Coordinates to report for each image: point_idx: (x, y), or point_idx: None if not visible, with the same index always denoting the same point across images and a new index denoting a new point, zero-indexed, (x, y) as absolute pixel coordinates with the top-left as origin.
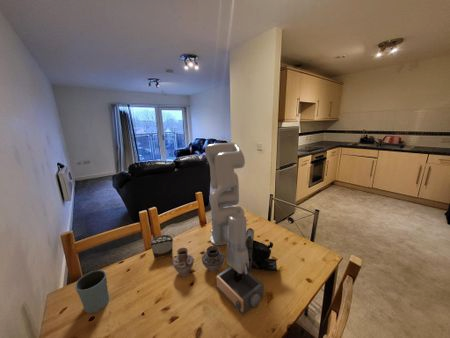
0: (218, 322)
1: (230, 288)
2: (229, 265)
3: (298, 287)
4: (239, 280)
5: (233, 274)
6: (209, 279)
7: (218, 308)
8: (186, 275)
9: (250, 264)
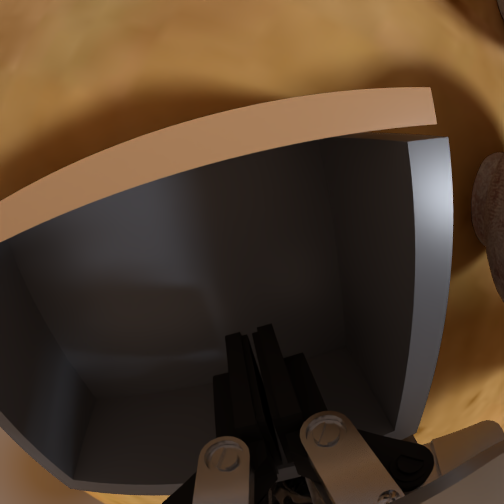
0: (19, 30)
1: (18, 215)
2: (441, 492)
3: (126, 495)
4: (214, 380)
5: (358, 335)
6: (440, 104)
7: (106, 42)
8: (500, 9)
9: (316, 493)
